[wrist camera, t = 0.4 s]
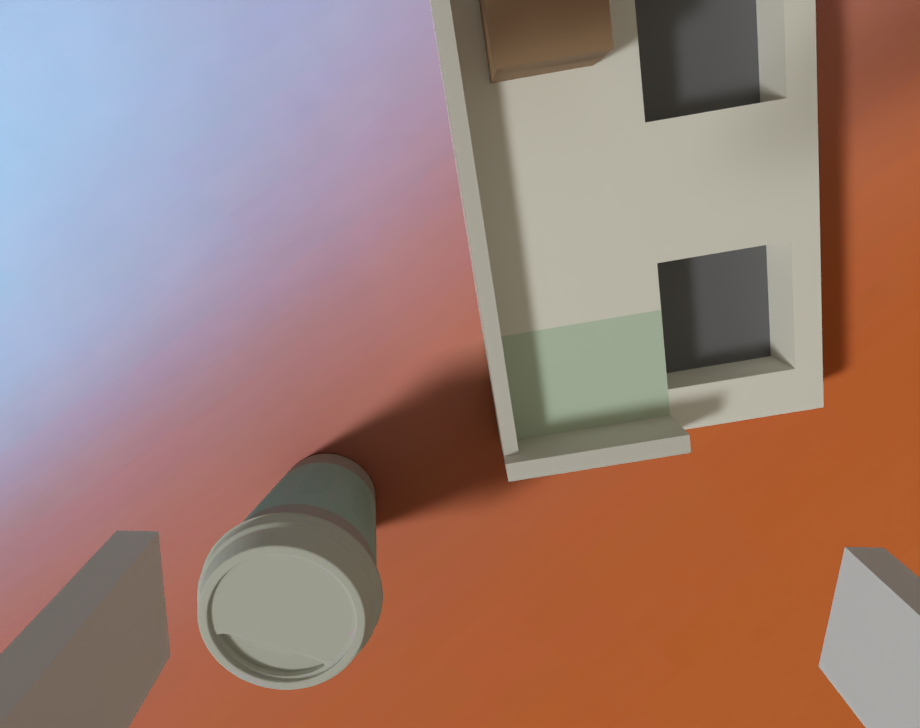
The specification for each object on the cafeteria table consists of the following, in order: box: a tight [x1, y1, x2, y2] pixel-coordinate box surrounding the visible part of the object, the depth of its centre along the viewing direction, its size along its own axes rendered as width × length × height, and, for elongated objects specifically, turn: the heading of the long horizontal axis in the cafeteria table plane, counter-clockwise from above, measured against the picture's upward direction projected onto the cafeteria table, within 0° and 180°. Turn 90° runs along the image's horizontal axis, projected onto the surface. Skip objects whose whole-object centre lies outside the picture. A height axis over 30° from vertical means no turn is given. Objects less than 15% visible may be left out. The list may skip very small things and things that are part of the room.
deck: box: [429, 0, 824, 482], centre depth 33 cm, size 26×18×6 cm
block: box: [479, 0, 614, 83], centre depth 29 cm, size 5×5×4 cm
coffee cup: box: [197, 454, 383, 690], centre depth 35 cm, size 8×8×12 cm
